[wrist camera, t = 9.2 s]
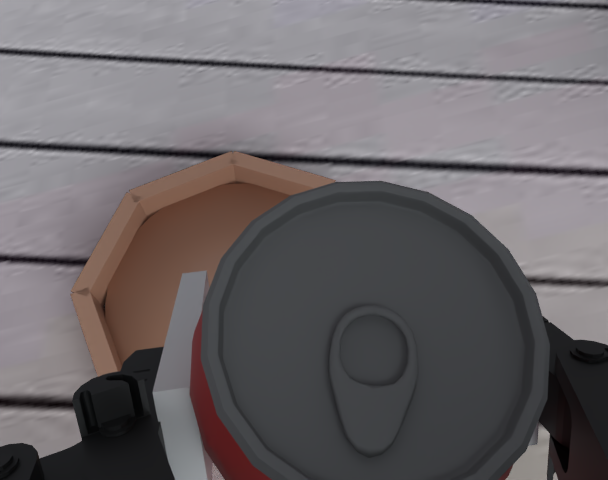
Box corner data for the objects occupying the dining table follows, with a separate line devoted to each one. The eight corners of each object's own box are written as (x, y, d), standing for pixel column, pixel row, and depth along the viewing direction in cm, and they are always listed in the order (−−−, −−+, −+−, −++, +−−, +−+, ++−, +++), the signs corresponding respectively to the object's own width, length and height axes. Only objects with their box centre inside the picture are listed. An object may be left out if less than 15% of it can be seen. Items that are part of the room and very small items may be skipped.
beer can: (216, 523, 17) (112, 535, 7) (247, 332, 20) (209, 136, 10) (414, 547, 17) (623, 597, 7) (415, 351, 20) (560, 173, 10)
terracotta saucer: (300, 146, 45) (301, 124, 42) (431, 360, 37) (443, 348, 34) (62, 241, 40) (45, 222, 37) (154, 508, 32) (142, 509, 29)
